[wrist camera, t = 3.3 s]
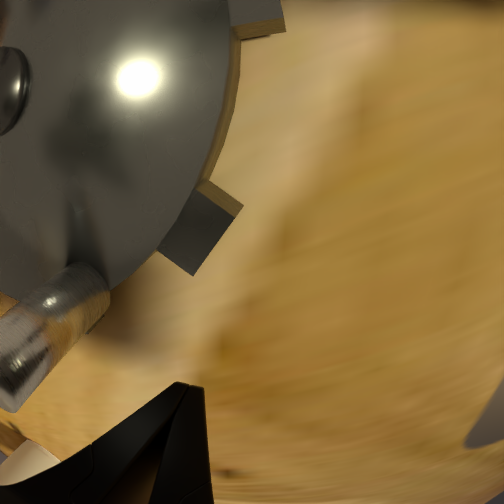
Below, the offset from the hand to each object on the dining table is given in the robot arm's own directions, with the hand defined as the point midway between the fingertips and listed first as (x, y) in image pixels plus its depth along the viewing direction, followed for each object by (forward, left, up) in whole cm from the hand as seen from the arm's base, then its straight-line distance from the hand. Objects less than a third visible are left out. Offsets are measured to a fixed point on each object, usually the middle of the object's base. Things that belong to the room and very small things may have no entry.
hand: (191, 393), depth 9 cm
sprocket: (+10, -9, -6) cm, 15 cm away
